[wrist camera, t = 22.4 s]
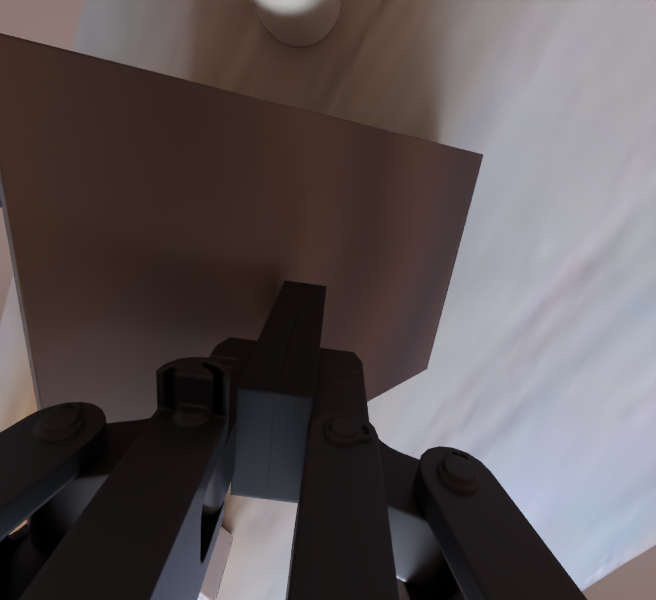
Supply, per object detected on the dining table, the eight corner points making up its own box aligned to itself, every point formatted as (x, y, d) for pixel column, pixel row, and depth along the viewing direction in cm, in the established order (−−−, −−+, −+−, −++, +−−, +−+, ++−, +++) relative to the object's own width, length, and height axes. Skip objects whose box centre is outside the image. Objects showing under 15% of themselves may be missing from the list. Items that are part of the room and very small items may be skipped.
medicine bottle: (193, 559, 46) (145, 689, 35) (150, 525, 44) (85, 651, 33) (235, 535, 44) (199, 664, 33) (192, 499, 42) (138, 622, 31)
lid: (61, 547, 12) (68, 568, 11) (-29, 31, 7) (-26, 25, 6) (417, 363, 26) (427, 369, 25) (470, 153, 21) (483, 154, 20)
